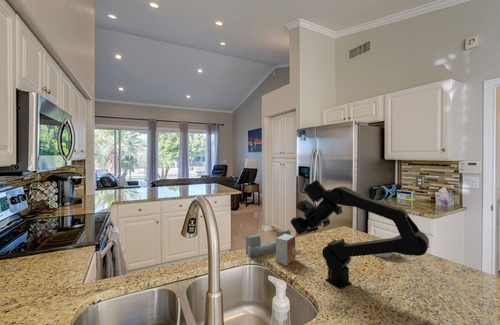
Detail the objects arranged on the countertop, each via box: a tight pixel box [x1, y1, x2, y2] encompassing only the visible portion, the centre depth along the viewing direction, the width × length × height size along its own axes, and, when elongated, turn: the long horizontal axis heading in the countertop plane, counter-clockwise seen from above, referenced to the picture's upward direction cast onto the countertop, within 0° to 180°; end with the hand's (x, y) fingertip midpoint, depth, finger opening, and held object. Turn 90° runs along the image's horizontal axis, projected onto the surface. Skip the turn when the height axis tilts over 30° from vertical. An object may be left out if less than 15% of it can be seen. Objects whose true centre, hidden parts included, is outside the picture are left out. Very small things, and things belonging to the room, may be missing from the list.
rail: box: [247, 239, 276, 258], centre depth 113 cm, size 3×24×5 cm, turn 119°
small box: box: [275, 234, 296, 266], centre depth 103 cm, size 8×6×10 cm
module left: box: [245, 234, 262, 255], centre depth 110 cm, size 5×5×9 cm
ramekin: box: [366, 238, 393, 258], centre depth 112 cm, size 11×11×5 cm
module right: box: [276, 229, 292, 238], centre depth 119 cm, size 5×5×9 cm
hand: (299, 233), depth 97 cm, fingers closed
